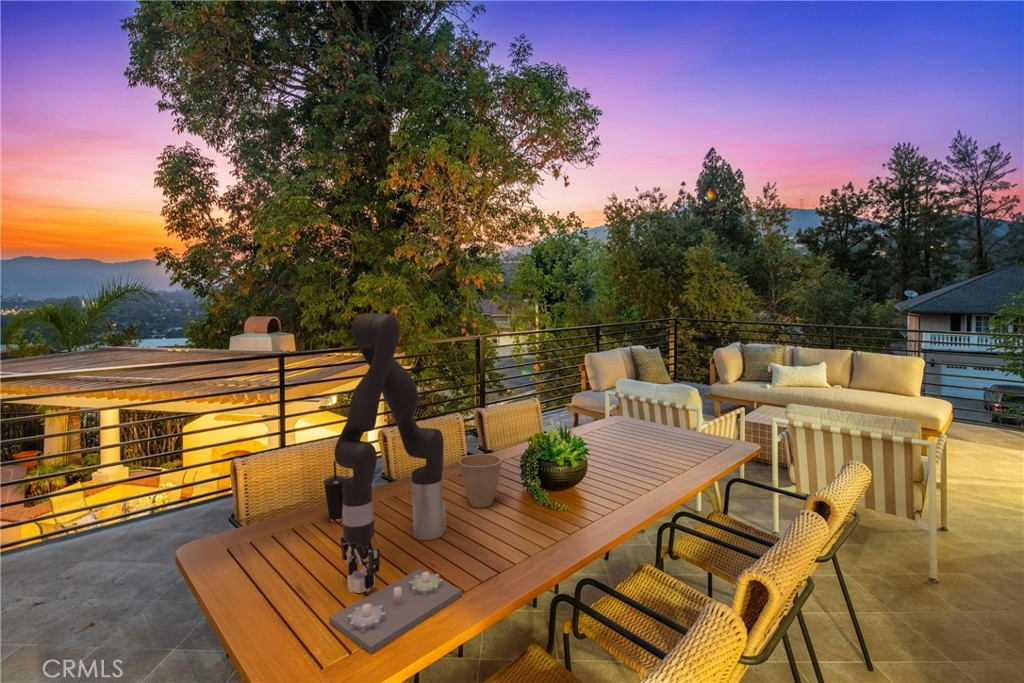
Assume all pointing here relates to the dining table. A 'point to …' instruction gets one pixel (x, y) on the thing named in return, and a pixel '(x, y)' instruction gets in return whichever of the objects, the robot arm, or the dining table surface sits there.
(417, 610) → the gear board
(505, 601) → the dining table surface
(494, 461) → the plant pot
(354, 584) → the gear
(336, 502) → the drinking cup
